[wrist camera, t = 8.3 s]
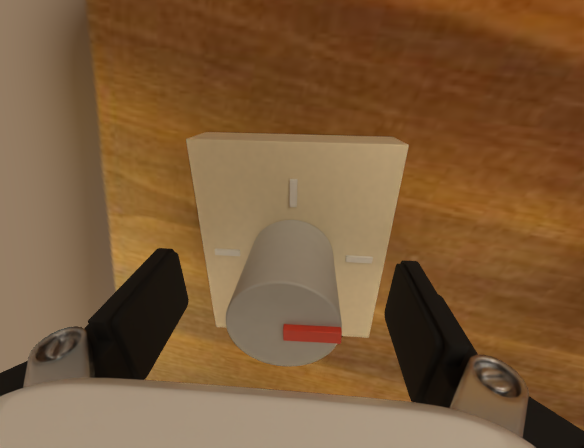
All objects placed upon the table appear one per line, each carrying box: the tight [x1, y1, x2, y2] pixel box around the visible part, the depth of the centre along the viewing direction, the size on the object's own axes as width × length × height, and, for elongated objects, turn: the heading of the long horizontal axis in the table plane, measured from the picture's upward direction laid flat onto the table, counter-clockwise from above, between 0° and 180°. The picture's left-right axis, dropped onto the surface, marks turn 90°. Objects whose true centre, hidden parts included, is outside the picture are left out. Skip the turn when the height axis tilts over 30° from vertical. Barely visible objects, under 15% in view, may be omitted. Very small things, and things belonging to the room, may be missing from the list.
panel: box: [186, 132, 409, 338], centre depth 15 cm, size 12×10×3 cm
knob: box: [226, 220, 342, 366], centre depth 12 cm, size 4×4×5 cm
